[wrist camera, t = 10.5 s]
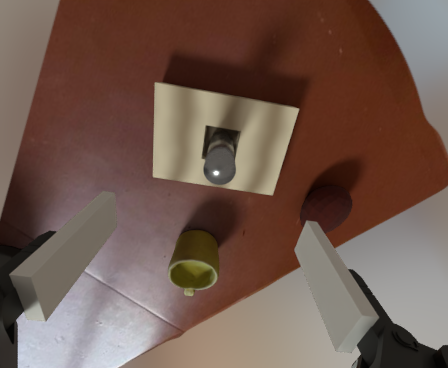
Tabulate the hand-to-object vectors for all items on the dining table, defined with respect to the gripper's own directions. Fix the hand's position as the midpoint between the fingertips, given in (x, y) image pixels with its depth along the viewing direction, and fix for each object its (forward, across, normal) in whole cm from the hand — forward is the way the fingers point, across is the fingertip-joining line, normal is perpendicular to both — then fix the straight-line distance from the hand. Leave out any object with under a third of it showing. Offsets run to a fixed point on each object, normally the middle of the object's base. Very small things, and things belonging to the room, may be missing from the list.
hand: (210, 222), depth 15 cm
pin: (+22, 0, 0) cm, 22 cm away
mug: (+23, -1, -24) cm, 34 cm away
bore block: (+23, 0, 0) cm, 23 cm away
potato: (+23, +20, -8) cm, 32 cm away
